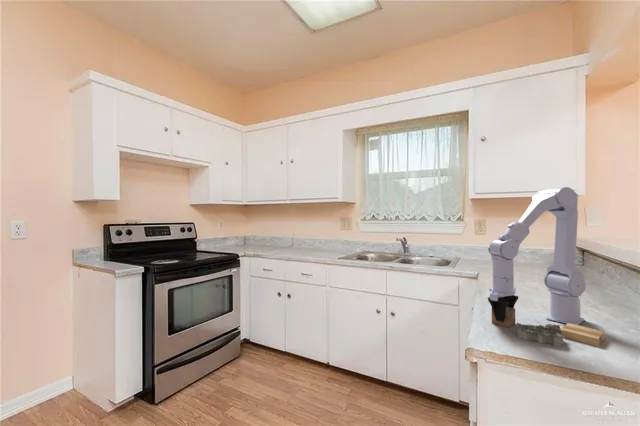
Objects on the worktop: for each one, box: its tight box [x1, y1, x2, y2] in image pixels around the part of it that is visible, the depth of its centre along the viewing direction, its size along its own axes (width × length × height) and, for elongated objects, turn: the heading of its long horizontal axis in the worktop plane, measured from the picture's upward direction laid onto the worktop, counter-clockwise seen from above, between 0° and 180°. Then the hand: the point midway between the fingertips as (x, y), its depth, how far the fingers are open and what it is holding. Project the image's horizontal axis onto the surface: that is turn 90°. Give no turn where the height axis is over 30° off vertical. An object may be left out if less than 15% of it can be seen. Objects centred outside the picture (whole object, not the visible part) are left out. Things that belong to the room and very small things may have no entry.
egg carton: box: [516, 322, 565, 347], centre depth 82 cm, size 11×8×4 cm
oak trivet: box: [560, 323, 605, 347], centre depth 82 cm, size 8×8×2 cm
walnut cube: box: [491, 307, 516, 329], centre depth 93 cm, size 5×5×5 cm
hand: (503, 319), depth 93 cm, fingers closed on walnut cube, 5 cm apart
